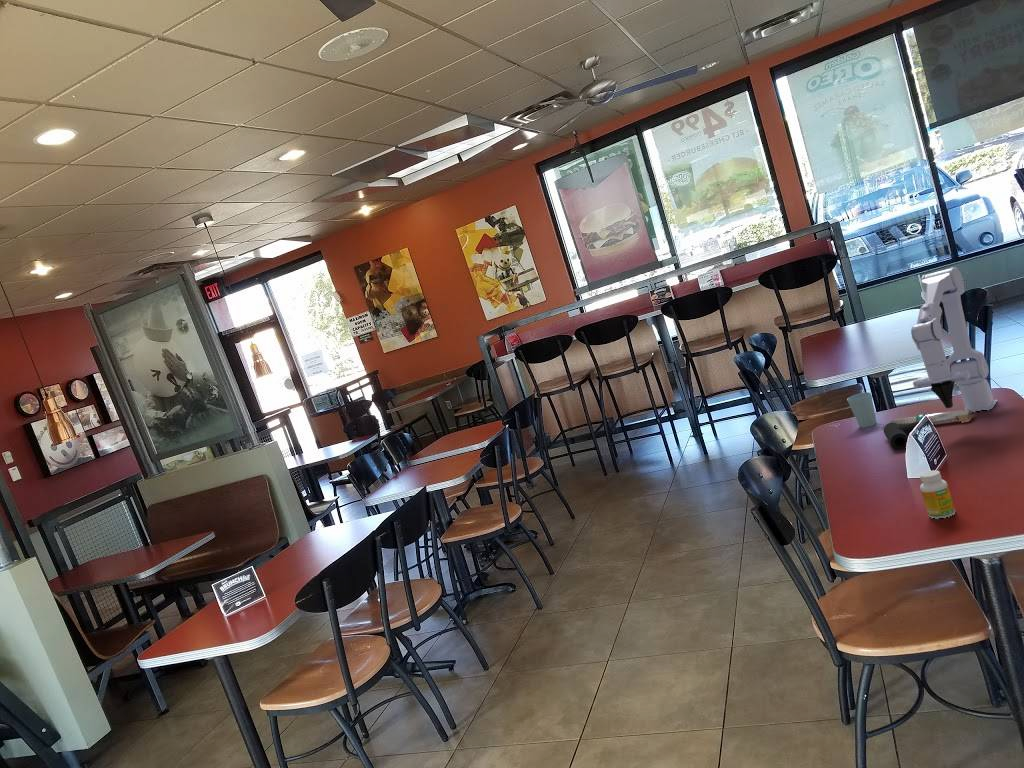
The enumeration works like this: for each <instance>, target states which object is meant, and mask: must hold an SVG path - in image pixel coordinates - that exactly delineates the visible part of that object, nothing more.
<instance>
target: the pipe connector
mask: <svg viewBox="0 0 1024 768" xmlns="http://www.w3.org/2000/svg"><path fill="white" fill-rule="evenodd" d="M919 421H920V420H919ZM919 421H917V422H914V423H910V424H906V425H902V426H900V425H899V424H897V423H894V422H891V423H890V422H889V423H887V424H885V425H884V427H883V435H884V436H885V437H886V439H887V440H888V442H889V444H890V445H891V447H892V448H893V449H894V450H897V451H900V450H905V449H906V448H905V447H906V442H907V437H908V435H909V433H910V432H911V431H912V430H913V428H914V427H915V426H916V425H917V424H918V423H919Z"/></svg>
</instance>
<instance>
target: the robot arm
mask: <svg viewBox="0 0 1024 768" xmlns="http://www.w3.org/2000/svg"><path fill="white" fill-rule="evenodd" d="M920 285H921V289H922V290H923V292H924V293H925V299H924V300H925V301H924V304H923V305H921V307H919V312H918V315H917V320H916V324H914V325H913V326H912V327H911V329H910V333H911V339H912V340H913V342H914V343H915V346H916V349H917V350H918V351H920V354H921V358H922V361H923V364H924V367H925V371H926V373H927V377H924V378H921V379H917V380H916V379H915V380H914V381H913V382H912V384H913V388H914V389H919V388H924V387H929V386H930V390H931V391H932V392H933V393H934V394H935V395H936V396H937V397H938V398H939V399H940V402H942V404H943V405H944V407H945V409H951V408H953V407H954V403H953V394H954V387H955V385H956V386H958V389H959V391H960V392H959V393H960V395H961V398H962V402H963V405H964V409H969V410H971V411H980V410H987V411H991V410H992V409H993V407H994V406H995V405H996V404H997V403H996V402H998V399H994V396H993V394H992V390H991V386H990V383H989V381H988V380H987V379H986V378H987V377H988V375H989V365H988V362H987V361H986V358H985V355H984V353H983V352H982V351H979V350H976V349H975V348H973V347H972V346H971V340H970V336H969V332H968V328H967V323H966V318H965V314H964V310H963V309H964V308H963V305H962V299H961V298H962V297H961V295H963V294H964V293H965V284H964V279H963V274H962V272H961V271H960V270H959V268H958V267H956V266H952V267H950V268H946V269H943V270H939V271H936V272H935V271H934V272H931V273H927V274H923V275H922V277H921V279H920ZM941 303H942V305H943V309H944V316H945V318H946V323H947V327H948V331H949V337H950V342H951V347H952V351H953V352H952V353H951V354H950V356H948V358H947V357H946V354H945V349H944V347H943V344H942V340H941V339H942V337H943V331H942V324H941V317H942V312H943V310H942V307H941V306H940V304H941ZM990 409H991V410H990ZM980 412H981V411H980Z"/></svg>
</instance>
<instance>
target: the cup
mask: <svg viewBox="0 0 1024 768" xmlns="http://www.w3.org/2000/svg"><path fill="white" fill-rule="evenodd" d="M846 400H847V402H848V405H849V407H850V409H851V411H852V413H853V417H854V418H855V420H856V422H857V424H858V428H860V427H861V429H862V428H863V429H865V428H870V427H872V426H875V425H877V418H876V417H877V416H876V412H875V407H874V402H873V397H872V393H871V392H861V393H857V394H853V395H851V396H849V397H848V398H846Z"/></svg>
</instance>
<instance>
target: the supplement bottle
mask: <svg viewBox="0 0 1024 768" xmlns="http://www.w3.org/2000/svg"><path fill="white" fill-rule="evenodd" d="M919 478H920V480H921V482H922V483H921V484H920V486H919V488H920V491H921V495H922V499H923V501H924V505H925V507H926V511H927V512H926V513H927V514H928V517H929V518H930V517H931V518H930V519H933V518H935V519H934V520H940V519H939V518H944V519H947V518H946V517H948V518H951V517H952V515H953V516H954V515H955V514H956V513H955V512H956V511H957V510H956V507H955V505H954V502H953V501H954V500H953V498H952V494H951V491H950V488H949V486H948V482H947V481H946V480H944V479H942V475H941V472H940V470H927V471H924V472H922V473H920V475H919ZM950 516H951V517H950Z"/></svg>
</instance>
